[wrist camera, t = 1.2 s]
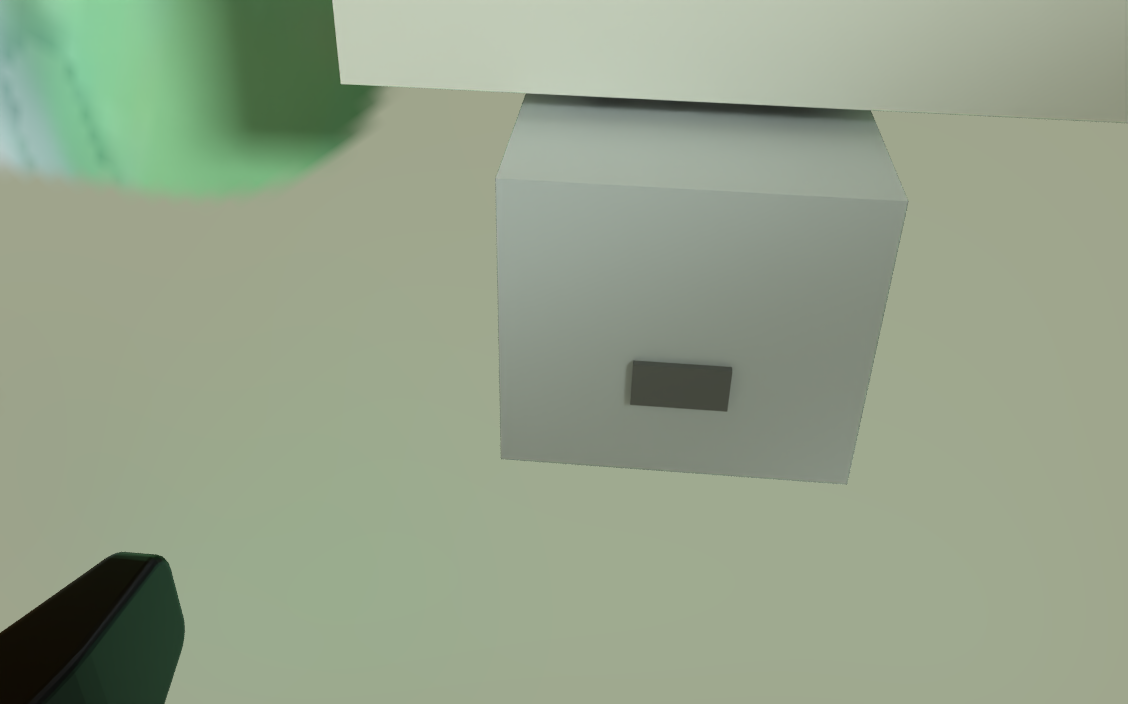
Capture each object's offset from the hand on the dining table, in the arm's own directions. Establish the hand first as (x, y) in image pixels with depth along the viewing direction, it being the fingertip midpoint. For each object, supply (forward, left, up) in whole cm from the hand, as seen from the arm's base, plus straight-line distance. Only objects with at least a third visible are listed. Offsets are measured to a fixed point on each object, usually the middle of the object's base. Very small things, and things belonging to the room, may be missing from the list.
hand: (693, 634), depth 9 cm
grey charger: (0, 0, -11) cm, 11 cm away
